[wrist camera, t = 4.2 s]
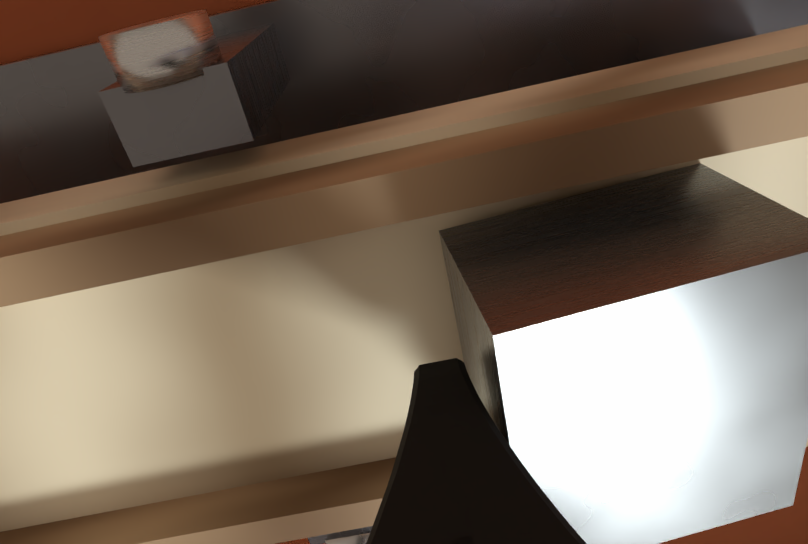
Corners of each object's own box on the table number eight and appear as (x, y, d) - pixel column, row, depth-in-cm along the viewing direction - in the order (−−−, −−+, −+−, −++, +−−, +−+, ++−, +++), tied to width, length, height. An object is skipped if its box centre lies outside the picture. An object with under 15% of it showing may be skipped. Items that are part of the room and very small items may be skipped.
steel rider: (700, 162, 10) (850, 240, 7) (685, 386, 12) (792, 505, 9) (438, 230, 9) (492, 335, 7) (479, 443, 12) (529, 579, 9)
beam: (909, 1, 10) (1043, 16, 8) (828, 365, 14) (904, 435, 12) (-388, 290, 11) (-549, 364, 9) (-113, 544, 15) (-184, 633, 13)
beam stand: (838, -151, 12) (1141, -209, 7) (767, 338, 18) (902, 476, 13) (-315, 124, 13) (-677, 222, 9) (-9, 482, 20) (-126, 648, 15)
